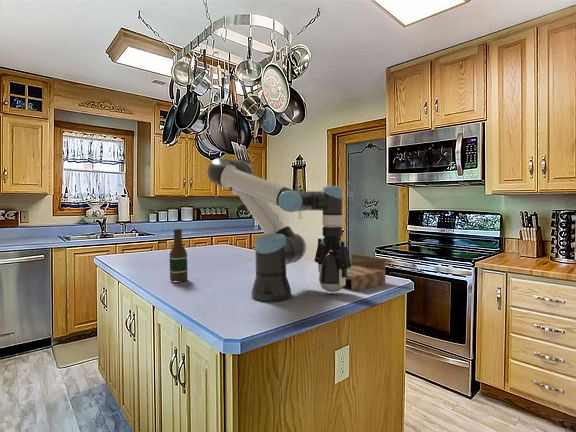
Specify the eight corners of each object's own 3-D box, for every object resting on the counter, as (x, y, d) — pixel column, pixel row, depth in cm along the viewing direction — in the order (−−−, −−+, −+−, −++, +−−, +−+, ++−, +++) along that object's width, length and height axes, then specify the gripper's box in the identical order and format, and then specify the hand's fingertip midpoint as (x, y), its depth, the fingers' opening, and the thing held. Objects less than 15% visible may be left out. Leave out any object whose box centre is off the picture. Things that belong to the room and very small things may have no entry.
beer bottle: (188, 281, 163) (187, 229, 162) (170, 283, 160) (169, 230, 159) (186, 278, 170) (185, 228, 169) (169, 279, 167) (168, 228, 166)
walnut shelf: (354, 291, 142) (354, 264, 141) (322, 283, 156) (322, 258, 155) (385, 283, 154) (385, 258, 153) (353, 277, 168) (353, 253, 167)
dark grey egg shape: (324, 294, 132) (324, 253, 131) (315, 287, 142) (315, 250, 141) (350, 292, 135) (350, 252, 134) (338, 286, 145) (339, 249, 144)
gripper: (361, 227, 131) (361, 287, 132) (319, 224, 148) (319, 276, 150) (347, 228, 126) (347, 290, 127) (305, 224, 144) (305, 279, 145)
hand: (332, 283), depth 138 cm, fingers closed on dark grey egg shape, 10 cm apart
